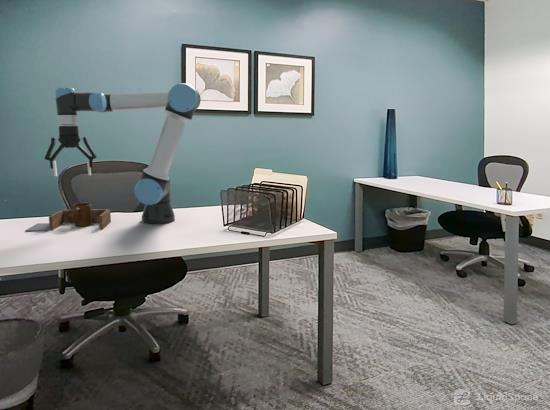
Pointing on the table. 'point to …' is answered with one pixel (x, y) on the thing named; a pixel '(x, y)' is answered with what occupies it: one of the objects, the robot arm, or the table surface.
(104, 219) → the brown wooden u-shaped piece
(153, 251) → the table surface
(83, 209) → the mug
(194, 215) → the table surface
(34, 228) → the mat
